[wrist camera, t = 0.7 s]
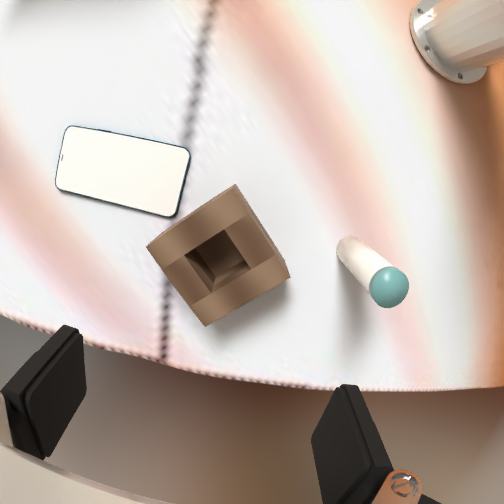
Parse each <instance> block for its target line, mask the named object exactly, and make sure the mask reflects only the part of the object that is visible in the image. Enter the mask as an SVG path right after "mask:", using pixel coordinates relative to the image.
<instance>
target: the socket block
mask: <svg viewBox="0 0 504 504" xmlns="http://www.w3.org/2000/svg"><path fill="white" fill-rule="evenodd" d="M146 248H147V249H148V251H149V252H150V254H151V255H152V256H153V258H154V259H155V261H156V262H157V263H158V265H159V266H160V268H161V269H162V270H163V272H164V273H165V274H166V276H167V277H168V279H169V280H170V281H171V283H172V284H173V285H174V287H175V288H176V289H177V291H178V292H179V293H180V295H181V296H182V297H183V299H184V300H185V301H186V303H187V304H188V305H189V307H190V308H191V309H192V311H193V312H194V313H195V314H196V316H197V317H198V318H199V320H200V321H201V322H202V323H203V325H204V326H205V327H206V326H207V325H209V324H211V323H213V322H214V321H216V320H218V319H220V318H222V317H223V316H225V315H227V314H229V313H230V312H232V311H234V310H236V309H237V308H239V307H241V306H243V305H244V304H246V303H248V302H250V301H251V300H253V299H255V298H256V297H258V296H260V295H262V294H263V293H265V292H267V291H268V290H270V289H272V288H274V287H275V286H277V285H279V284H280V283H282V282H284V281H285V280H287V279H289V278H290V275H289V272H288V269H287V266H286V263H285V260H284V259H283V257H282V256H281V254H280V252H279V251H278V249H277V248H276V246H275V245H274V243H273V241H272V240H271V238H270V237H269V235H268V234H267V232H266V230H265V229H264V227H263V226H262V224H261V223H260V221H259V219H258V218H257V216H256V215H255V213H254V212H253V210H252V209H251V207H250V206H249V204H248V202H247V201H246V199H245V198H244V196H243V195H242V193H241V192H240V190H239V189H238V187H237V185H236V184H234V185H233V186H231V187H230V188H228V189H227V190H225V191H223V192H222V193H220V194H219V195H217V196H216V197H214V198H213V199H211V200H210V201H208V202H207V203H205V204H204V205H202V206H201V207H199V208H198V209H196V210H195V211H193V212H192V213H190V214H189V215H187V216H186V217H184V218H183V219H181V220H180V221H178V222H177V223H175V224H174V225H173V226H171V227H170V228H168V229H167V230H165V231H164V232H162V233H161V234H160V235H159V236H157V237H156V238H155V239H154V240H153V241H152V242H151V243H150V244H148V245H147V246H146Z"/></svg>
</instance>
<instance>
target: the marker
mask: <svg viewBox="0 0 504 504" xmlns="http://www.w3.org/2000/svg"><path fill="white" fill-rule="evenodd" d="M336 253H337V256H338V258H339V259H340V260H341V261H342V262H343V264H344V265H345V266H346V267H347V268H348V269H349V270H350V272H351V273H352V274H353V275H354V276H355V277H356V279H357V280H358V281H359V282H360V283H361V284H362V286H363V287H364V288H365V289H366V290H367V291H368V293H369V294H370V295H371V297H372V298H373V299H374V301H375V302H376V303H377V304H378V305H379V306H381V307H384V308H391V307H394V306H396V305H398V304H399V303H401V302H402V301H403V300H404V298H405V297H406V295H407V293H408V289H409V282H408V279H407V277H406V275H405V274H404V273H402V272H401V271H400V270H399V269H397V268H395V267H394V266H393V265H392V264H390V263H389V262H388V261H386V260H385V259H384V258H383V257H381V256H380V255H379V254H378V253H376V252H375V251H374V250H372V249H371V248H370V247H369V246H367V245H366V244H365V243H363V242H362V241H361V240H359V239H358V238H357V237H354V236H346V237H344V238H343V239H341V240H340V241H339V243H338V245H337V248H336Z"/></svg>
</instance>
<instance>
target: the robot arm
mask: <svg viewBox="0 0 504 504" xmlns="http://www.w3.org/2000/svg"><path fill="white" fill-rule="evenodd" d="M410 30H411V34H412V37H413V40H414V42H415V44H416V47H417V48H418V50H419V52H420V53H421V55H422V56H423V58H424V59H425V60H426V62H427V63H428V64H429V65H430V66H431V67H432V68H433V69H434V70H435V71H436V72H438V73H439V74H440V75H441V76H443V77H445V78H446V79H448V80H450V81H452V82H455V83H459V84H469V83H473V82H476V81H478V80H480V79H481V78H482V77H483V76H484V74H485V72H486V70H487V66H488V65H492V64H495V63H499V62H503V61H504V0H421V1H420V2H418V3H417V4H416V5H415V6H414V8H413V9H412V12H411V14H410ZM86 388H87V387H86V377H85V364H84V349H83V336H82V334H79V330H78V329H76V328H73V327H70V326H67V325H63V326H62V327H61V328H60V329H59V330H58V331H57V332H56V333H55V334H54V335H53V336H52V337H51V338H50V339H49V340H48V341H47V342H46V343H45V344H44V345H43V346H42V348H41V349H40V350H39V351H37V352H36V353H34V354H33V355H32V356H31V358H30V359H29V360H28V361H27V362H26V363H25V364H24V365H23V366H22V367H21V368H20V369H19V370H18V372H17V373H16V374H15V375H14V376H13V377H12V378H11V380H10V381H9V382H8V383H7V384H6V385H5V386H4V387H3V389H2V390H1V391H0V504H173V503H168V502H164V501H160V500H155V499H151V498H147V497H144V496H140V495H136V494H133V493H129V492H126V491H122V490H119V489H115V488H112V487H109V486H107V485H104V484H101V483H98V482H95V481H92V480H90V479H87V478H84V477H82V476H79V475H76V474H74V473H71V472H69V471H66V470H64V469H61V468H59V467H57V466H54V465H52V464H50V463H47V462H45V461H43V460H44V459H45V457H46V456H47V457H50V455H51V454H52V452H53V451H54V449H55V447H56V445H57V443H58V441H59V440H60V438H61V436H62V434H63V433H64V431H65V429H66V428H67V426H68V424H69V422H70V420H71V419H72V417H73V415H74V413H75V412H76V410H77V409H78V407H79V405H80V403H81V402H82V400H83V399H84V397H85V394H86ZM311 444H312V449H313V454H314V459H315V464H316V469H317V474H318V480H319V485H320V489H321V495H322V501H323V504H441V503H439V502H437V501H435V500H433V499H431V498H429V497H427V496H425V495H423V494H422V489H423V487H422V483H421V481H420V479H419V478H418V477H417V476H416V475H415V474H413V473H412V472H410V471H407V470H395V471H394V469H393V467H392V464H391V462H390V459H389V457H388V455H387V452H386V450H385V448H384V445H383V442H382V440H381V438H380V435H379V433H378V430H377V428H376V425H375V423H374V422H373V420H372V418H371V415H370V413H369V411H368V408H367V406H366V403H365V401H364V399H363V396H362V395H361V392H360V390H359V387H358V386H357V385H347V384H342V385H341V386H340V388H339V387H338V388H336V389H335V391H334V393H333V395H332V397H331V399H330V401H329V403H328V405H327V407H326V409H325V411H324V413H323V415H322V417H321V419H320V421H319V423H318V425H317V427H316V428H315V430H314V432H313V434H312V438H311Z"/></svg>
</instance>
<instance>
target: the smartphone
mask: <svg viewBox="0 0 504 504" xmlns="http://www.w3.org/2000/svg"><path fill="white" fill-rule="evenodd" d="M190 158H191V154H190V152H189V150H188V149H187V148H184V147H181V146H177V145H172V144H168V143H163V142H159V141H154V140H149V139H145V138H140V137H135V136H130V135H125V134H119V133H114V132H111V131H106V130H100V129H98V130H97V129H92V128H86V127H79V126H69V127H68V128H67V129H66V130H65V132H64V137H63V141H62V146H61V151H60V156H59V161H58V166H57V172H56V178H55V185H56V187H57V188H58V189H59V190H62V191H66V192H70V193H74V194H76V195H82V196H84V197H88V198H92V199H96V200H102V201H105V202H109V203H113V204H117V205H121V206H125V207H129V208H133V209H137V210H140V211H144V212H148V213H152V214H156V215H160V216H164V217H172V216H173V215H175V214H176V212H177V210H178V206H179V202H180V197H181V193H182V189H183V185H184V181H185V177H186V174H187V169H188V166H189V162H190Z"/></svg>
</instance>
